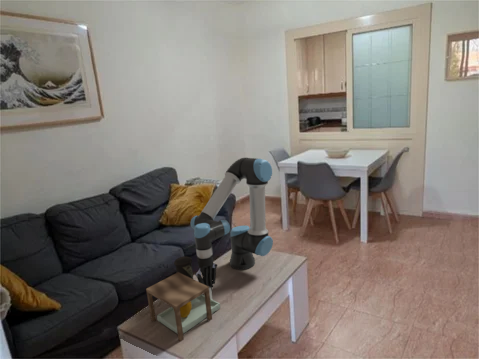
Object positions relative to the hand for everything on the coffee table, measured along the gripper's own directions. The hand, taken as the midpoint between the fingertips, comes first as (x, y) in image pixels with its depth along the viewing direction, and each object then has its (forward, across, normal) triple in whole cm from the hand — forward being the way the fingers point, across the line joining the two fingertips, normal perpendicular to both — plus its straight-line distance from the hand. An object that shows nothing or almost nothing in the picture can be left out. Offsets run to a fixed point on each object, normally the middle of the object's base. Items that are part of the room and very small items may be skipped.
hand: (209, 298), depth 165 cm
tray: (+1, +13, 0) cm, 13 cm away
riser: (+1, +18, 0) cm, 18 cm away
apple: (+1, +16, 0) cm, 16 cm away
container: (+2, +3, -14) cm, 15 cm away
